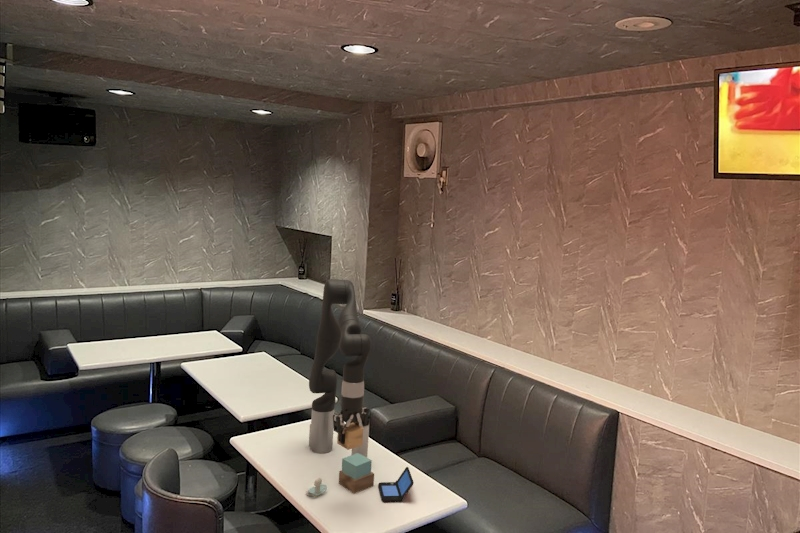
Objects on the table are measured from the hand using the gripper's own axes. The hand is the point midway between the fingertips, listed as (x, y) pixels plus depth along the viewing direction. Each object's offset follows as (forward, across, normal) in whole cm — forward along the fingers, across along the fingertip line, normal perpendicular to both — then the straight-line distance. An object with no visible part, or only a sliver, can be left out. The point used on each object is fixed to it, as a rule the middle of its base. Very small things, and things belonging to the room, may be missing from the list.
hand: (349, 440), depth 189 cm
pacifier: (+23, +5, -11) cm, 26 cm away
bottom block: (+23, -10, -8) cm, 26 cm away
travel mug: (+23, -21, -19) cm, 36 cm away
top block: (+18, -10, -8) cm, 22 cm away
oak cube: (+1, 0, 0) cm, 1 cm away
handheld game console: (+23, -18, +5) cm, 29 cm away
